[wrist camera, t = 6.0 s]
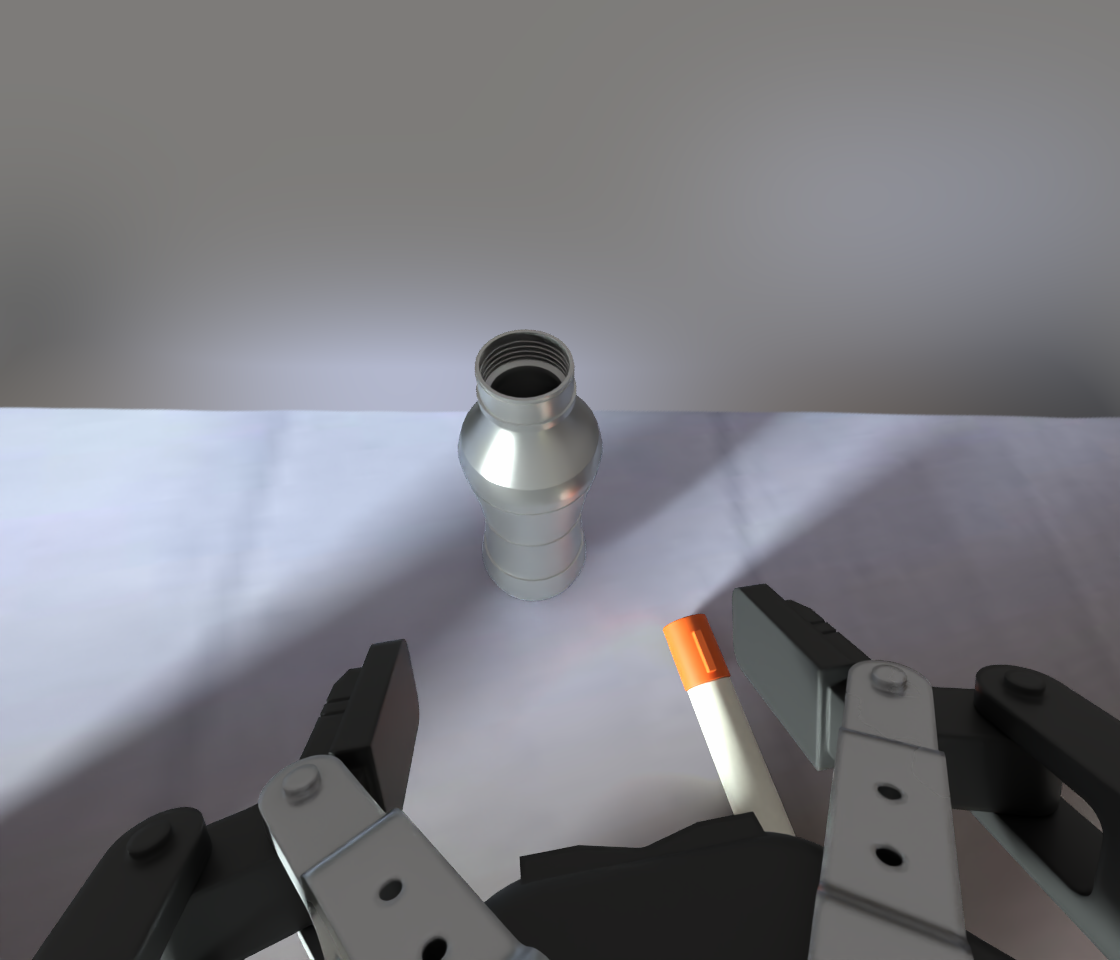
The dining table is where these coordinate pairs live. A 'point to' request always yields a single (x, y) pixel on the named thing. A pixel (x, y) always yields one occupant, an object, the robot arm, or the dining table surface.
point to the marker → (725, 723)
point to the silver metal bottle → (530, 462)
